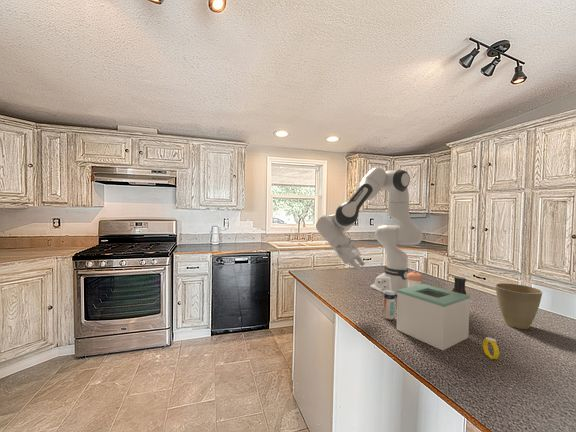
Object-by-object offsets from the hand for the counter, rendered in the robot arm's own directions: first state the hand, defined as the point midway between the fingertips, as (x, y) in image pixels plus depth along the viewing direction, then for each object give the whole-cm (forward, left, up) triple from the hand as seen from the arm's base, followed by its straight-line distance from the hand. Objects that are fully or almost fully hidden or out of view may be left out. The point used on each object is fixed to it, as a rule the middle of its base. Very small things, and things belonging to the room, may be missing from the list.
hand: (361, 267), depth 121 cm
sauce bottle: (+29, +26, -21) cm, 45 cm away
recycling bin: (+28, +8, -21) cm, 37 cm away
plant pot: (+42, +47, -21) cm, 67 cm away
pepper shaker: (+11, +23, -21) cm, 34 cm away
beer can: (+10, +6, -21) cm, 25 cm away
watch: (+47, +9, -22) cm, 53 cm away
